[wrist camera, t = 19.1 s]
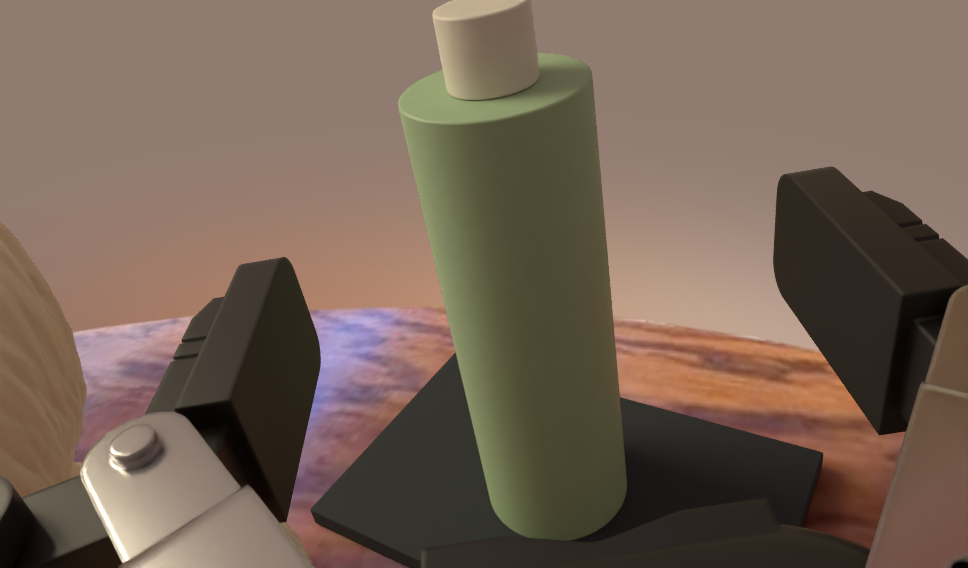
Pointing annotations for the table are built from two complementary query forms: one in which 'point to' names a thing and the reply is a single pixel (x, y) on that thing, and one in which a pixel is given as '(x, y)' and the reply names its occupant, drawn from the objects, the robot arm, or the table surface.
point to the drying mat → (465, 498)
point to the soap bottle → (522, 264)
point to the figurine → (39, 379)
